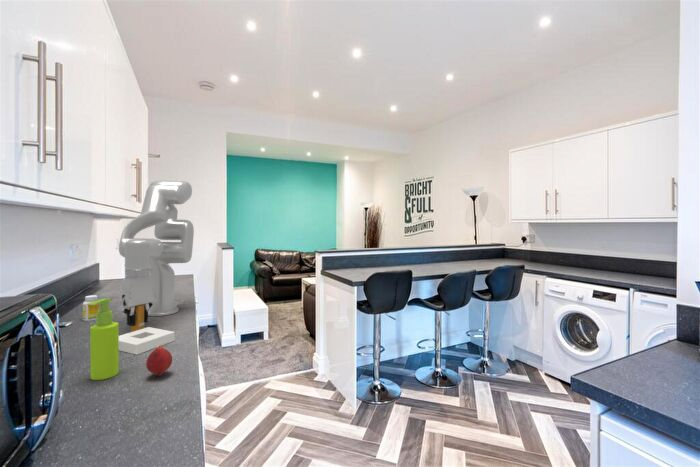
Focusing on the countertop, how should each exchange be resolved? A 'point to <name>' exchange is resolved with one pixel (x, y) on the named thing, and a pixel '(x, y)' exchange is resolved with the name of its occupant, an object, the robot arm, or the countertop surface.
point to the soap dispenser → (104, 343)
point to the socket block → (144, 340)
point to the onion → (159, 361)
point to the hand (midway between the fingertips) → (137, 323)
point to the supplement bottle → (90, 308)
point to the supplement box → (138, 318)
